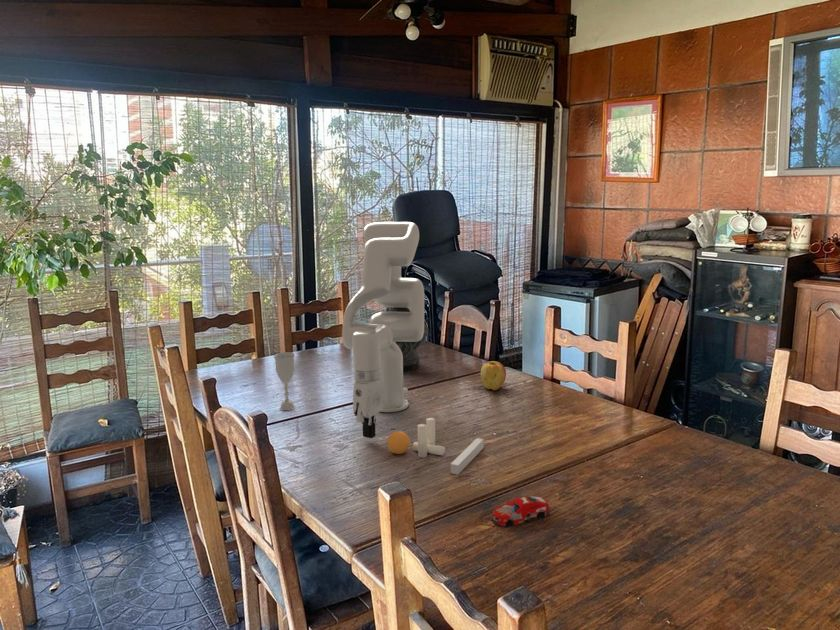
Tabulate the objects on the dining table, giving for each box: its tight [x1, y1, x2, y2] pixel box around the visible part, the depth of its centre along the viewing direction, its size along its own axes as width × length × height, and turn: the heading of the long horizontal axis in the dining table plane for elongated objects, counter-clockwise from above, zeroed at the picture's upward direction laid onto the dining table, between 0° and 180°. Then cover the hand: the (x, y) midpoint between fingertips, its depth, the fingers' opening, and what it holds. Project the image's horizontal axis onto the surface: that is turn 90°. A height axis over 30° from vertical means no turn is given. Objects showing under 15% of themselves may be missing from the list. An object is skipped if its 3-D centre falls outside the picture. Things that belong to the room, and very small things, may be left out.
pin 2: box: [425, 417, 436, 445], centre depth 170 cm, size 2×2×8 cm
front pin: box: [412, 441, 446, 456], centre depth 168 cm, size 2×2×8 cm
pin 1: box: [417, 423, 428, 459], centre depth 166 cm, size 2×2×8 cm
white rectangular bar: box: [450, 437, 485, 475], centre depth 163 cm, size 18×2×2 cm, turn 154°
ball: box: [386, 430, 411, 455], centre depth 168 cm, size 6×6×6 cm
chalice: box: [273, 351, 296, 411], centre depth 203 cm, size 7×7×18 cm
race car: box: [492, 495, 550, 528], centre depth 135 cm, size 13×5×4 cm, turn 112°
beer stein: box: [388, 307, 429, 372], centre depth 249 cm, size 16×19×25 cm
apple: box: [480, 360, 507, 391], centre depth 221 cm, size 9×9×10 cm
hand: (369, 436), depth 176 cm, fingers closed
